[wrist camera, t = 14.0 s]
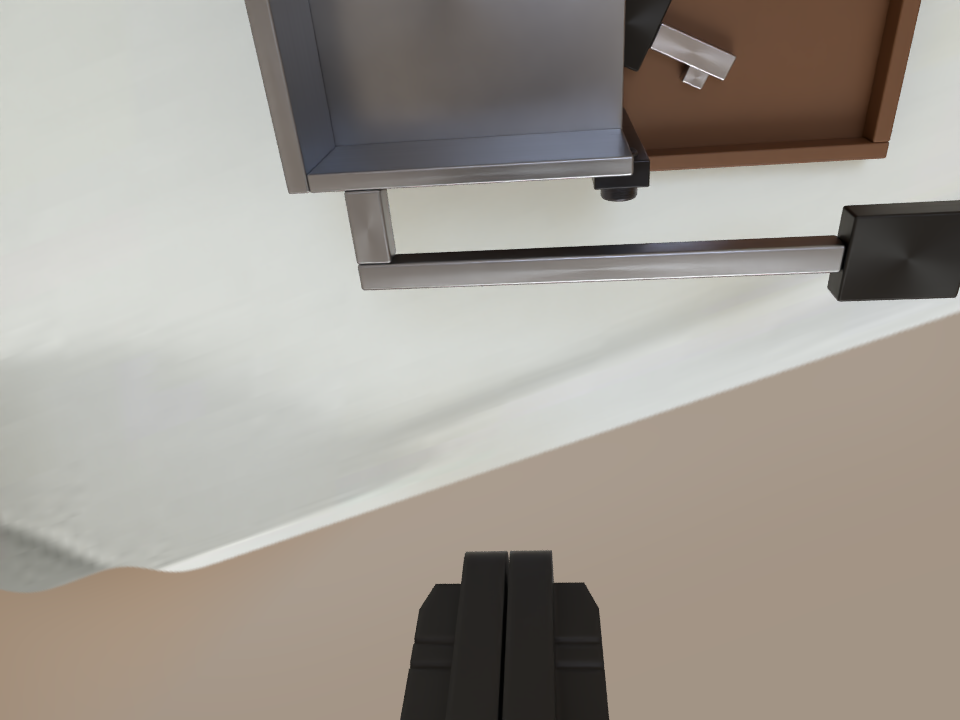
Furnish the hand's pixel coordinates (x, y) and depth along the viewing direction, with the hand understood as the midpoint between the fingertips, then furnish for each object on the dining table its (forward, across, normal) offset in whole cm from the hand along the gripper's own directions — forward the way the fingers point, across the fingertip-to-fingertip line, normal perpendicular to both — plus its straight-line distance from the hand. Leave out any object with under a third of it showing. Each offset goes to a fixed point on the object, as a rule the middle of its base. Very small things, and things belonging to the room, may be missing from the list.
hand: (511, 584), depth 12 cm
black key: (+19, -5, -6) cm, 21 cm away
